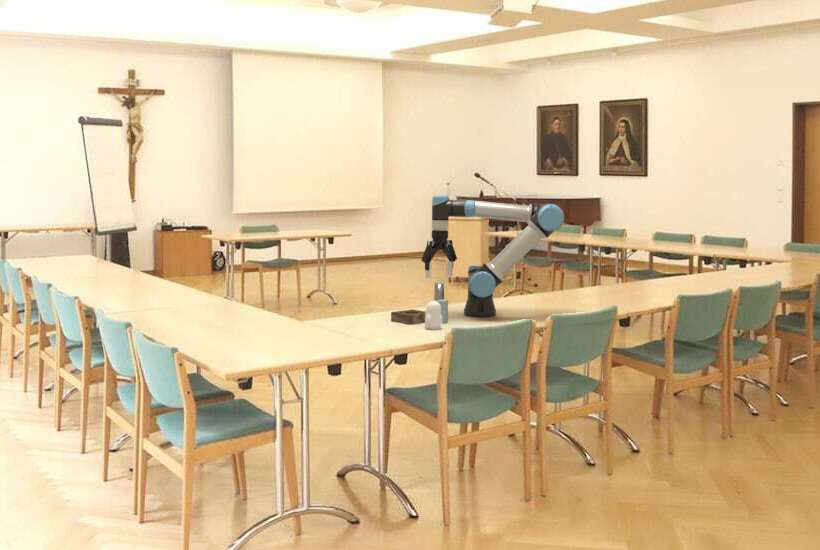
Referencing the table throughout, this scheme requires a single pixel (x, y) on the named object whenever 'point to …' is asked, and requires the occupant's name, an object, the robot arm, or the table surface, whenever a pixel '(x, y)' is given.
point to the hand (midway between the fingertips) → (439, 276)
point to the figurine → (433, 316)
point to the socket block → (408, 316)
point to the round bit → (439, 291)
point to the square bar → (444, 310)
